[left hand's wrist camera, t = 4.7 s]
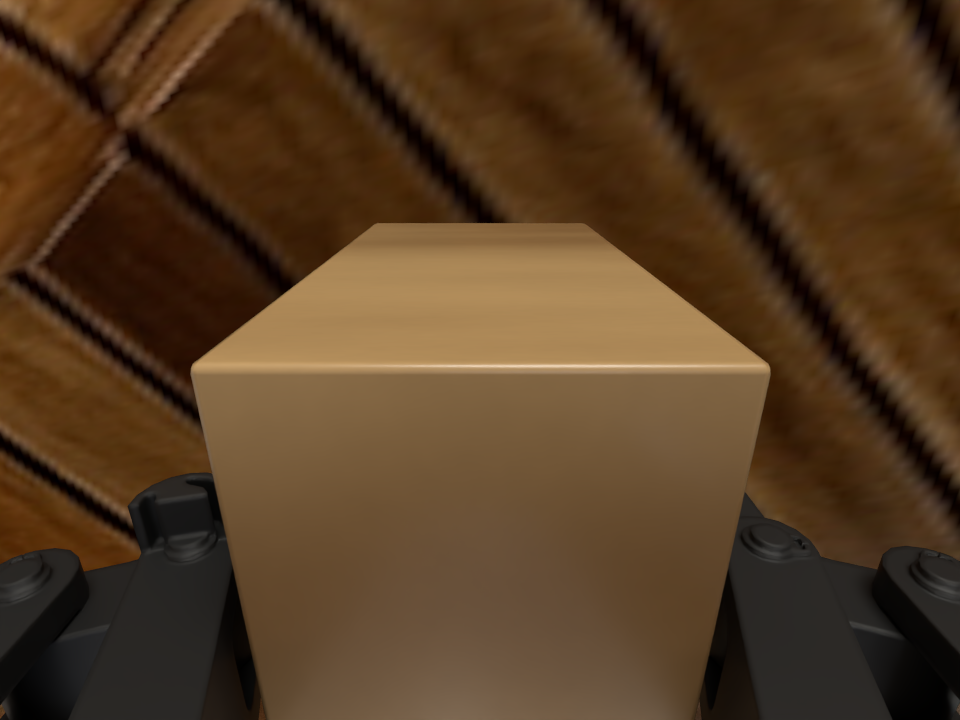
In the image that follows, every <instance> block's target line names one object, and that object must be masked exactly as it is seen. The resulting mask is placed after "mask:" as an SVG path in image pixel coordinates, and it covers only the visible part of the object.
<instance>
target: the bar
mask: <svg viewBox="0 0 960 720" xmlns="http://www.w3.org/2000/svg"><path fill="white" fill-rule="evenodd" d="M770 375H771V373H770V367H769V364H768V363H766V362H765V361H764V360H763V359H761V358H760V357H759V356H757V355H756V354H755V353H753V352H752V351H751V350H749V349H748V348H747V347H746V346H744V345H743V344H742V343H740V342H739V341H738V340H736V339H735V338H734V337H732V336H731V335H730V334H729V333H727V332H726V331H725V330H723V329H722V328H721V327H719V326H718V325H717V324H715V323H714V322H713V321H712V320H710V319H709V318H708V317H706V316H705V315H704V314H702V313H701V312H700V311H698V310H697V309H696V308H694V307H693V306H692V305H691V304H689V303H688V302H687V301H685V300H684V299H683V298H681V297H680V296H679V295H677V294H676V293H675V292H674V291H672V290H671V289H670V288H668V287H667V286H666V285H664V284H663V283H662V282H660V281H659V280H658V279H657V278H655V277H654V276H653V275H651V274H650V273H649V272H647V271H646V270H645V269H643V268H642V267H641V266H640V265H638V264H637V263H636V262H634V261H633V260H632V259H630V258H629V257H628V256H626V255H625V254H624V253H623V252H621V251H620V250H619V249H617V248H616V247H615V246H613V245H612V244H611V243H609V242H608V241H607V240H605V239H604V238H603V237H602V236H600V235H599V234H598V233H596V232H595V231H594V230H592V229H591V228H590V227H588V226H587V225H586V224H583V223H377V224H375V225H373V226H372V227H371V228H369V229H368V230H367V231H365V232H364V233H363V234H361V235H360V236H359V237H358V238H356V239H355V240H354V241H352V242H351V243H350V244H348V245H347V246H346V247H345V248H343V249H342V250H341V251H339V252H338V253H337V254H335V255H334V256H333V257H331V258H330V259H329V260H328V261H326V262H325V263H324V264H322V265H321V266H320V267H318V268H317V269H316V270H315V271H313V272H312V273H311V274H309V275H308V276H307V277H305V278H304V279H303V280H302V281H300V282H299V283H298V284H296V285H295V286H294V287H292V288H291V289H290V290H288V291H287V292H286V293H285V294H283V295H282V296H281V297H279V298H278V299H277V300H275V301H274V302H273V303H272V304H270V305H269V306H268V307H266V308H265V309H264V310H262V311H261V312H260V313H258V314H257V315H256V316H255V317H253V318H252V319H251V320H249V321H248V322H247V323H245V324H244V325H243V326H242V327H240V328H239V329H238V330H236V331H235V332H234V333H232V334H231V335H230V336H228V337H227V338H226V339H225V340H223V341H222V342H221V343H219V344H218V345H217V346H215V347H214V348H213V349H212V350H210V351H209V352H208V353H206V354H205V355H204V356H202V357H201V358H200V359H198V360H197V361H196V362H195V363H193V365H192V368H191V378H192V382H193V387H194V391H195V396H196V401H197V405H198V410H199V414H200V419H201V424H202V428H203V433H204V437H205V442H206V446H207V451H208V456H209V460H210V465H211V469H212V474H213V479H214V483H215V488H216V492H217V497H218V502H219V506H220V511H221V515H222V520H223V525H224V529H225V534H226V538H227V543H228V547H229V552H230V557H231V561H232V566H233V570H234V575H235V580H236V584H237V589H238V593H239V598H240V603H241V607H242V612H243V616H244V621H245V626H246V630H247V635H248V639H249V644H250V649H251V653H252V658H253V662H254V667H255V671H256V676H257V681H258V685H259V690H260V694H261V699H262V704H263V708H264V713H265V717H266V720H695V716H696V712H697V707H698V703H699V698H700V693H701V689H702V684H703V680H704V675H705V671H706V666H707V662H708V657H709V652H710V648H711V643H712V639H713V634H714V630H715V625H716V621H717V616H718V611H719V607H720V602H721V598H722V593H723V589H724V584H725V580H726V575H727V570H728V566H729V561H730V557H731V552H732V548H733V543H734V539H735V534H736V530H737V525H738V520H739V516H740V511H741V507H742V502H743V498H744V493H745V489H746V484H747V479H748V475H749V470H750V466H751V461H752V457H753V452H754V448H755V443H756V438H757V434H758V429H759V425H760V420H761V416H762V411H763V407H764V402H765V397H766V393H767V388H768V384H769V379H770Z"/></svg>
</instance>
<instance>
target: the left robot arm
mask: <svg viewBox="0 0 960 720" xmlns="http://www.w3.org/2000/svg"><path fill="white" fill-rule="evenodd" d="M128 509H129V512H130V516H131V519H132V523H133V526H134V529H135V533H136V536H137V539H138V543H139V546H140V550H141V555H140V557H139V559H138V560H134V561H131V562H127V563H122V564H118V565H113V566H109V567H104V568H99V569H95V570H90V571H85V572H84V571H83V568H82V565H81V563H80V560H79V557H78V556H77V555H75V554H74V553H73V552H72V551H70V550H64V549H57V548H53V549H46V550H38V551H33V552H30V553H26V554H24V555H19V556H17V557H14V558H11V559H9V560H8V561H6V562H4V563H2V564H0V705H1V704H2V706H3V708H4V710H5V712H6V713H5V714H4V715H3V716H2V718H1V719H0V720H258V718H259V709H260V700H261V694H260V690H259V685H258V681H257V676H256V671H255V667H254V662H253V658H252V653H251V649H250V644H249V639H248V635H247V630H246V626H245V621H244V616H243V612H242V607H241V603H240V598H239V593H238V589H237V584H236V580H235V575H234V570H233V566H232V561H231V557H230V552H229V547H228V543H227V538H226V534H225V529H224V525H223V520H222V515H221V511H220V506H219V502H218V497H217V492H216V488H215V483H214V479H213V474H211V473H189V474H184V475H180V476H175V477H171V478H168V479H166V480H164V481H161V482H159V483H156V484H154V485H152V486H150V487H149V488H147V489H146V490H144V491H143V492H141V493H140V494H138V495H137V496H136V497H135V498H134V499H133V501H132V502H131V503H130V504H129V505H128ZM959 703H960V561H958V560H956V559H954V558H953V557H951V556H948V555H946V554H943V553H940V552H939V553H938V552H937V551H933V550H929V549H925V548H918V547H911V546H902V547H895V548H890V549H889V550H888V551H887V552H885V553H884V554H883V555H882V558H881V561H880V564H879V567H878V570H877V569H872V568H867V567H863V566H858V565H853V564H849V563H844V562H839V561H835V560H831V559H827V558H824V557H821V556H820V554H819V552H818V551H817V549H816V548H815V547H814V545H813V544H812V542H811V541H810V540H809V539H808V538H806V537H805V536H804V535H802V534H801V533H800V532H798V531H797V530H796V529H794V528H791V527H789V526H787V525H785V524H783V523H781V522H779V521H775V520H771V519H768V518H764V516H763V515H762V514H761V512H760V511H759V510H758V509H757V507H756V506H755V505H754V503H753V502H752V501H751V499H750V498H749V497H748V495H747V494H746V493H744V498H743V502H742V507H741V511H740V516H739V520H738V525H737V530H736V534H735V539H734V543H733V548H732V552H731V557H730V561H729V566H728V570H727V575H726V580H725V584H724V589H723V593H722V598H721V602H720V607H719V611H718V616H717V621H716V625H715V630H714V634H713V639H712V643H711V648H710V652H709V657H708V662H707V666H706V671H705V675H704V680H703V684H702V689H701V693H700V708H701V717H702V720H960V715H959V714H958V713H957V711H956V709H957V707H958V705H959Z"/></svg>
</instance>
